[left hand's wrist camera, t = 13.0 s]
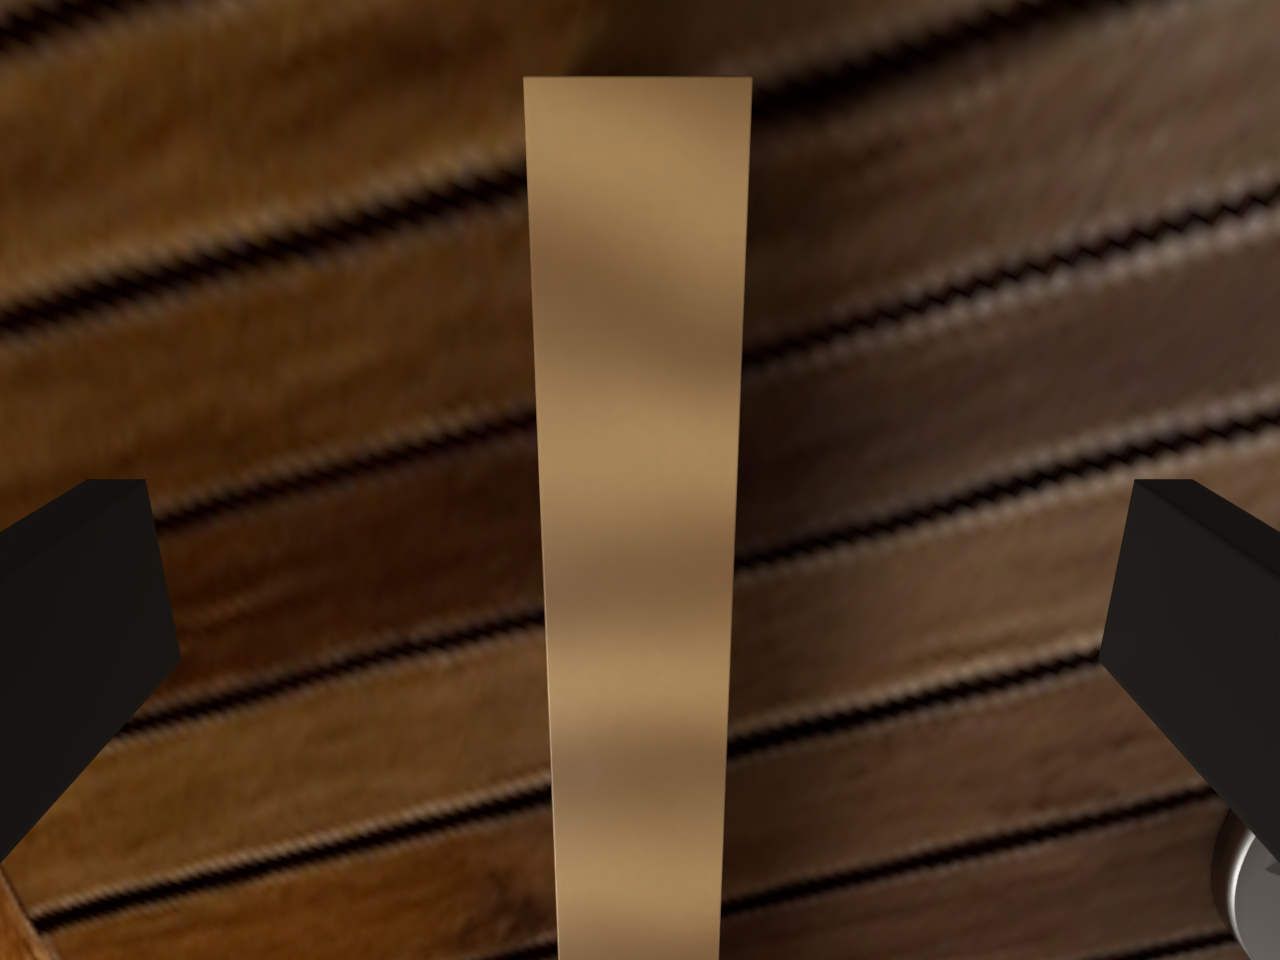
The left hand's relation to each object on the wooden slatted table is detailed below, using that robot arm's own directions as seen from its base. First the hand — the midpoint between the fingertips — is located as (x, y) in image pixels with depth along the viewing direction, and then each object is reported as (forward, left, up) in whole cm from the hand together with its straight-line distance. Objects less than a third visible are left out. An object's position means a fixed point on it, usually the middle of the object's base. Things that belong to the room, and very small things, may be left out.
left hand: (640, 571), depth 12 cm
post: (+7, +21, -21) cm, 30 cm away
